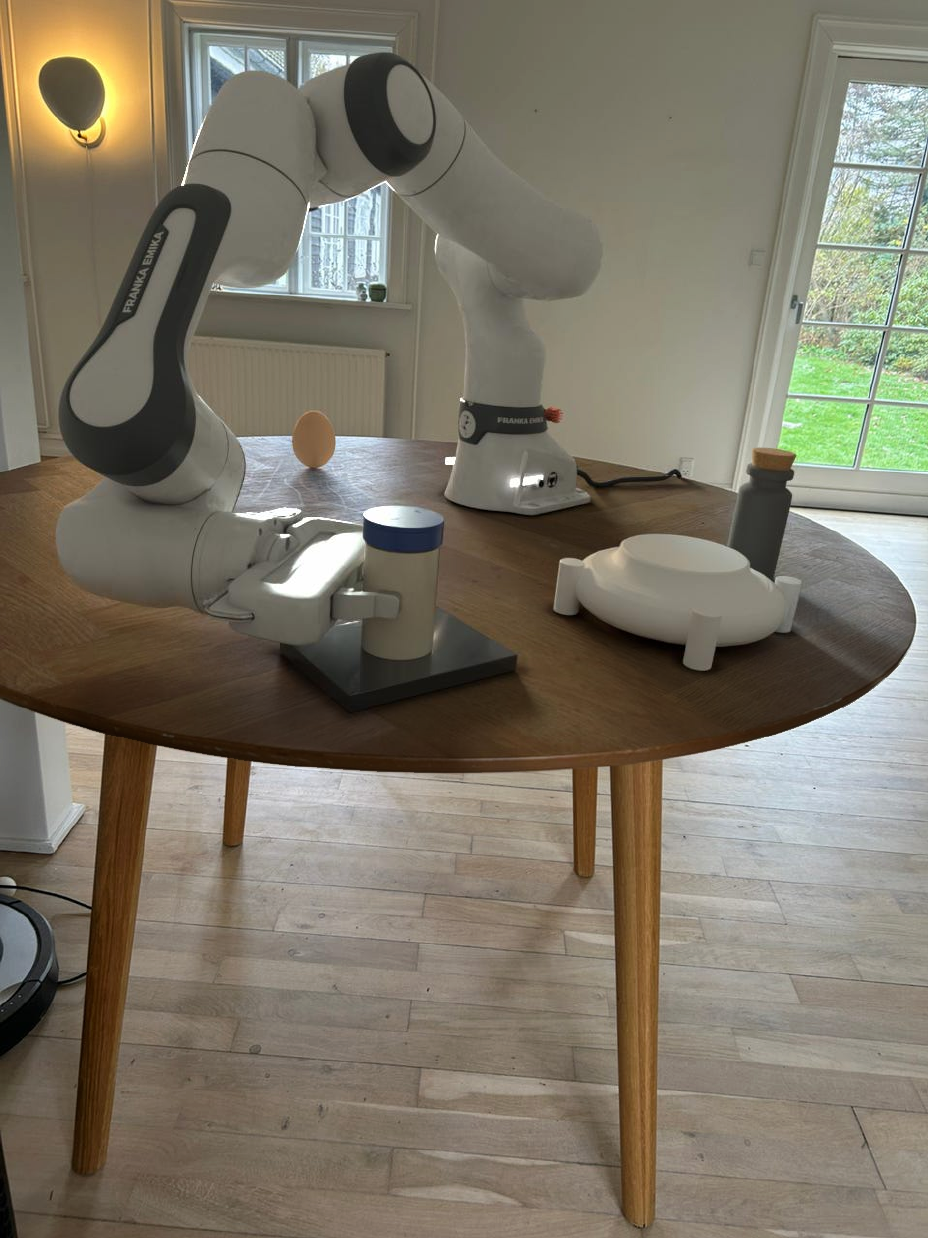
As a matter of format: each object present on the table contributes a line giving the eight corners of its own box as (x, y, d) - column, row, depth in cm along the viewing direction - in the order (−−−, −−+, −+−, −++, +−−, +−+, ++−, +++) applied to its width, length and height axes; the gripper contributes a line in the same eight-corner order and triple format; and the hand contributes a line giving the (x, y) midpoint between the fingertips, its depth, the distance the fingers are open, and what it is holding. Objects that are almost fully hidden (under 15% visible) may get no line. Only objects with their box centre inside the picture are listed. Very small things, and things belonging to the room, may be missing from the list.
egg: (311, 474, 131) (312, 415, 128) (282, 465, 135) (282, 408, 131) (343, 469, 136) (345, 412, 133) (315, 461, 140) (315, 405, 136)
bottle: (746, 589, 97) (775, 457, 91) (710, 572, 101) (736, 446, 96) (783, 584, 99) (813, 456, 94) (746, 568, 104) (773, 445, 98)
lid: (415, 524, 72) (416, 502, 71) (459, 546, 67) (461, 522, 66) (348, 532, 68) (348, 509, 67) (389, 555, 63) (390, 531, 63)
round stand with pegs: (835, 681, 75) (856, 606, 72) (564, 659, 75) (574, 583, 72) (754, 588, 97) (768, 528, 94) (545, 570, 97) (552, 509, 94)
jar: (407, 626, 75) (415, 509, 71) (446, 651, 71) (456, 528, 67) (347, 638, 72) (351, 515, 68) (384, 665, 67) (391, 537, 63)
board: (436, 620, 81) (437, 605, 80) (516, 670, 72) (518, 654, 71) (279, 651, 71) (279, 635, 71) (349, 713, 63) (349, 695, 62)
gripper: (189, 570, 60) (378, 596, 58) (292, 502, 79) (438, 521, 77) (192, 651, 63) (375, 679, 61) (292, 567, 81) (433, 586, 79)
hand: (411, 590), depth 69 cm, fingers closed on jar, 6 cm apart
